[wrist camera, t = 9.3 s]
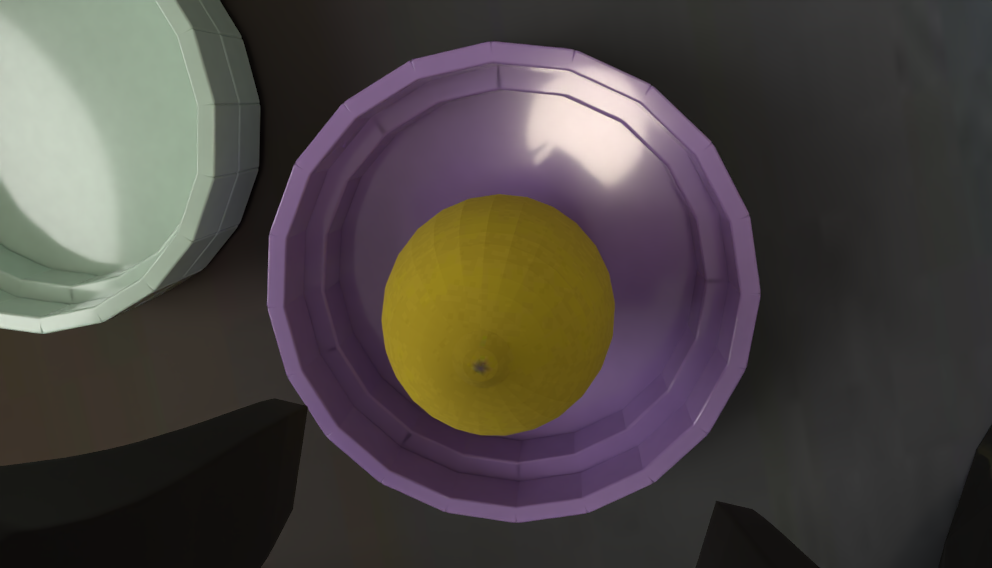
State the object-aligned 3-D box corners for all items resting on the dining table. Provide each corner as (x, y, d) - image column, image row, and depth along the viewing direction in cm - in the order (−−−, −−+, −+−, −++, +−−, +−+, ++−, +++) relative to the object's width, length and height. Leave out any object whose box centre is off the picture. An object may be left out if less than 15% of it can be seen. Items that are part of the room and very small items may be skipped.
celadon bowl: (123, 373, 24) (58, 413, 21) (-170, 129, 23) (-283, 133, 20) (343, 99, 22) (305, 98, 18) (20, -194, 21) (-77, -246, 17)
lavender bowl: (527, 536, 24) (520, 603, 21) (231, 280, 23) (176, 309, 20) (823, 262, 21) (869, 291, 18) (499, -47, 20) (484, -76, 17)
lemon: (409, 343, 23) (326, 468, 15) (433, 164, 21) (355, 199, 14) (588, 376, 22) (596, 521, 15) (624, 196, 21) (654, 251, 13)
